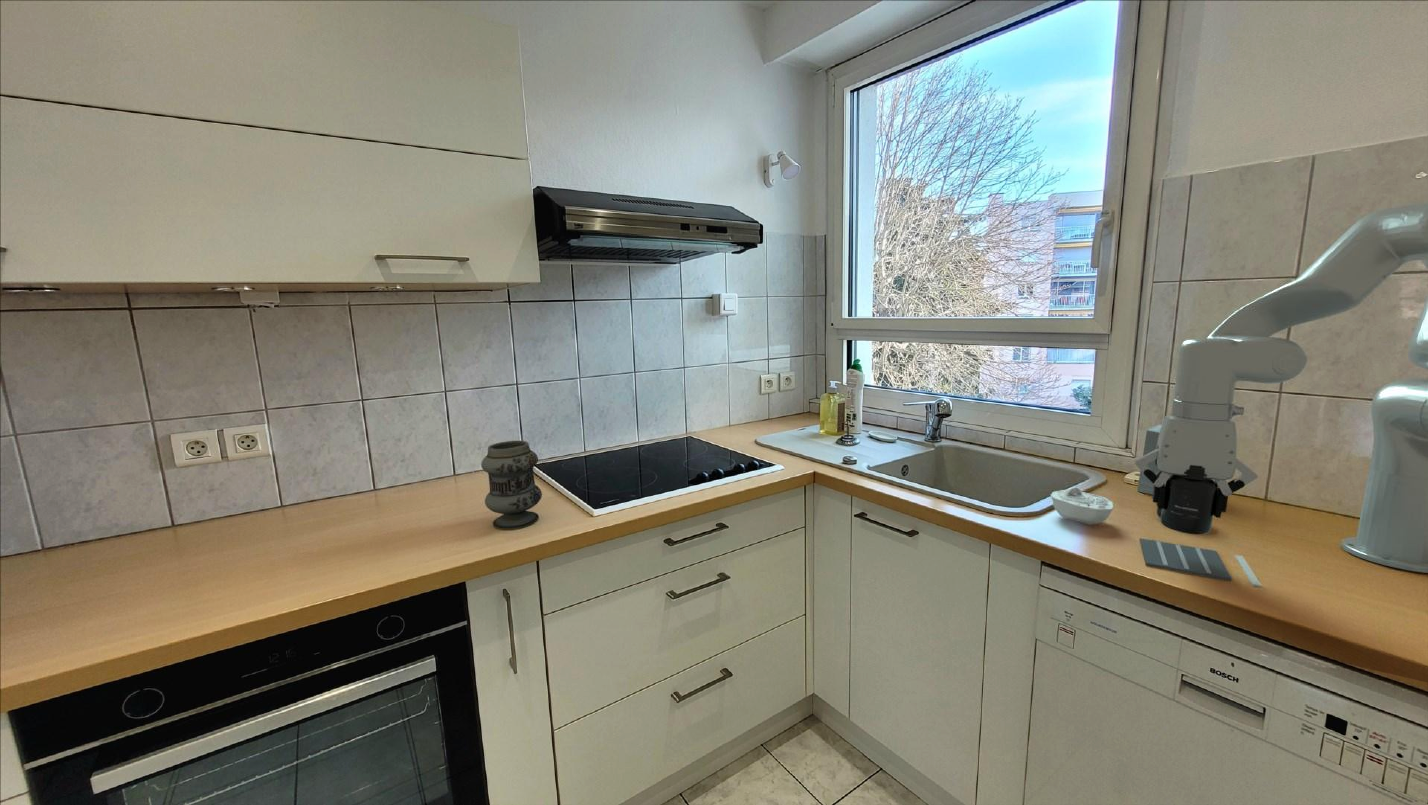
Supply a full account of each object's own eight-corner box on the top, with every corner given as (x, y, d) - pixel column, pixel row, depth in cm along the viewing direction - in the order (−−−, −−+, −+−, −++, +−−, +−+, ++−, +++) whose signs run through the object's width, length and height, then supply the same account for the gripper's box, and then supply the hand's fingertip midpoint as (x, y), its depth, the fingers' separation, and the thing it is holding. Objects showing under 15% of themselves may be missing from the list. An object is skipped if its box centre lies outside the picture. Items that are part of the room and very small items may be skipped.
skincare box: (1148, 485, 135) (1155, 423, 132) (1184, 492, 129) (1192, 428, 127) (1135, 492, 130) (1142, 428, 128) (1172, 500, 125) (1180, 433, 122)
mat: (1216, 553, 98) (1216, 550, 98) (1231, 581, 88) (1231, 578, 88) (1139, 540, 104) (1139, 537, 104) (1145, 565, 94) (1146, 562, 94)
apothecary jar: (512, 509, 129) (506, 436, 126) (554, 514, 125) (548, 439, 122) (475, 528, 118) (466, 449, 115) (519, 535, 114) (512, 452, 111)
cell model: (1084, 534, 107) (1087, 502, 106) (1037, 513, 119) (1039, 483, 118) (1126, 529, 109) (1130, 497, 108) (1076, 508, 121) (1079, 479, 120)
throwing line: (1242, 557, 96) (1242, 556, 96) (1261, 587, 86) (1261, 585, 86) (1234, 556, 97) (1235, 555, 97) (1252, 585, 87) (1252, 583, 87)
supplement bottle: (1175, 534, 92) (1184, 467, 90) (1151, 519, 99) (1158, 456, 97) (1221, 536, 91) (1231, 468, 89) (1194, 521, 98) (1202, 457, 96)
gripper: (1265, 412, 90) (1249, 513, 93) (1134, 403, 99) (1123, 496, 102) (1279, 420, 84) (1261, 528, 87) (1138, 410, 93) (1126, 508, 96)
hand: (1187, 510), depth 95 cm, fingers closed on supplement bottle, 6 cm apart
